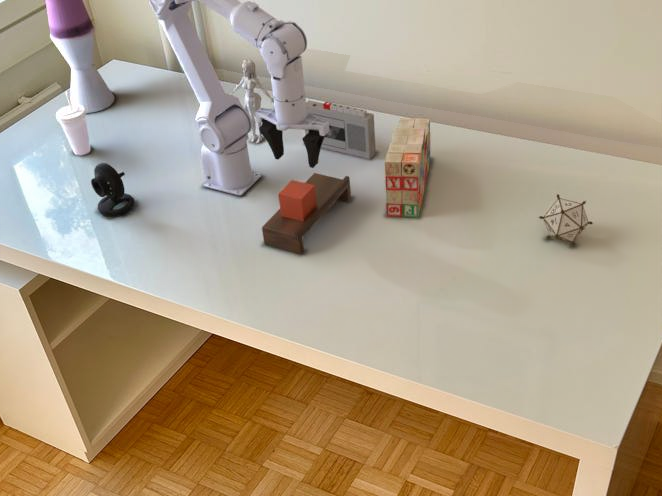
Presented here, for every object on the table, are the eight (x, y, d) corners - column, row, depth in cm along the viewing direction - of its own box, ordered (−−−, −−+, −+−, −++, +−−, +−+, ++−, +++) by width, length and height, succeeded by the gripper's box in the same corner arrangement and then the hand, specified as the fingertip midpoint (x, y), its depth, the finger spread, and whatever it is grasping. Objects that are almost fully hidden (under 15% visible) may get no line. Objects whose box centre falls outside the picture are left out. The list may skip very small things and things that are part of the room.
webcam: (90, 209, 179) (77, 166, 172) (119, 192, 182) (107, 150, 175) (113, 222, 175) (101, 179, 168) (142, 205, 178) (131, 162, 171)
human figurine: (231, 137, 195) (218, 60, 183) (240, 129, 197) (228, 52, 185) (276, 148, 190) (266, 69, 178) (285, 140, 192) (276, 61, 180)
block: (281, 216, 164) (277, 193, 161) (294, 202, 167) (291, 179, 164) (303, 222, 162) (301, 199, 159) (317, 207, 165) (314, 185, 162)
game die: (561, 261, 160) (553, 244, 151) (535, 226, 163) (526, 207, 154) (604, 232, 158) (598, 213, 149) (577, 197, 161) (570, 176, 152)
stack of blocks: (400, 157, 183) (399, 103, 175) (430, 158, 182) (431, 104, 173) (386, 216, 168) (384, 160, 160) (418, 218, 167) (418, 161, 158)
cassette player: (306, 144, 190) (301, 101, 183) (312, 138, 192) (308, 95, 185) (369, 158, 184) (367, 115, 177) (375, 152, 185) (373, 109, 178)
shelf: (264, 244, 165) (260, 222, 162) (316, 189, 177) (313, 168, 174) (300, 254, 162) (298, 232, 158) (351, 198, 174) (349, 176, 170)
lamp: (63, 113, 210) (9, -62, 182) (79, 91, 218) (29, -80, 190) (105, 113, 208) (57, -64, 181) (120, 92, 216) (76, -81, 188)
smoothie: (102, 147, 197) (85, 89, 187) (83, 161, 193) (64, 102, 183) (82, 141, 200) (64, 83, 190) (62, 154, 196) (43, 96, 186)
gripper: (243, 97, 157) (253, 163, 166) (312, 112, 151) (319, 179, 161) (264, 80, 161) (272, 145, 171) (332, 93, 155) (337, 160, 165)
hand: (296, 160), depth 166 cm, fingers open, 7 cm apart
